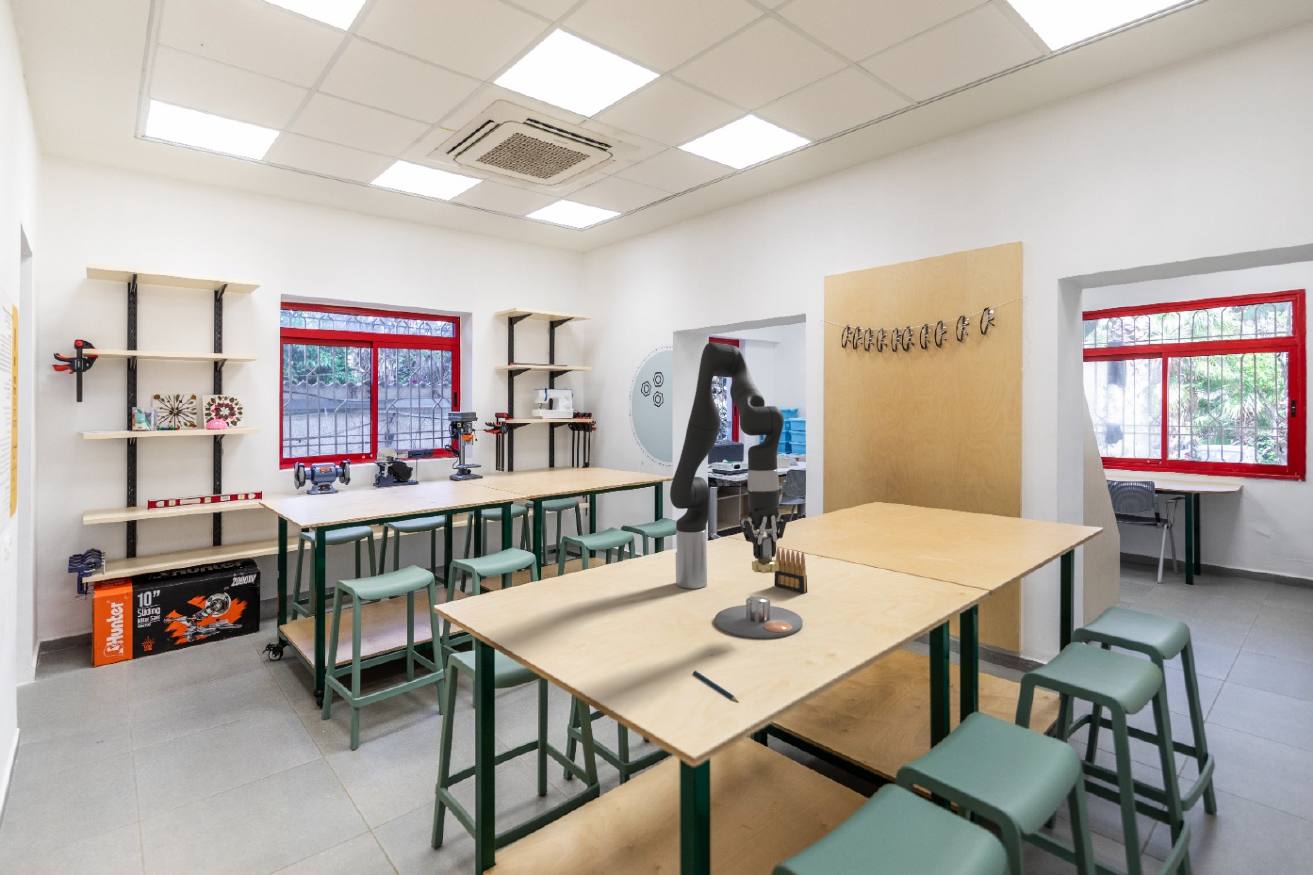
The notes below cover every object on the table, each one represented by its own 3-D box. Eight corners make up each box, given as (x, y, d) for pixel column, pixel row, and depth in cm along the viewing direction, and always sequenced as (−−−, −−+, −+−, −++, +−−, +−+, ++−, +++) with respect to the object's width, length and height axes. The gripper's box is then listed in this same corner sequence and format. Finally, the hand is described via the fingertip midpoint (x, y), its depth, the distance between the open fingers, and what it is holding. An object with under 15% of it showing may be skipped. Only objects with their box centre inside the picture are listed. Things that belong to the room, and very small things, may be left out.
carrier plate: (698, 618, 165) (698, 595, 165) (764, 603, 176) (764, 582, 176) (751, 645, 146) (751, 620, 146) (821, 627, 157) (821, 603, 157)
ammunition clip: (807, 592, 186) (807, 552, 185) (803, 593, 184) (803, 553, 184) (777, 585, 194) (777, 546, 193) (774, 586, 192) (773, 547, 192)
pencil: (696, 674, 132) (741, 703, 119) (692, 675, 132) (736, 705, 119) (696, 670, 132) (740, 699, 119) (692, 671, 132) (736, 700, 119)
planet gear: (746, 569, 157) (746, 537, 157) (767, 565, 160) (766, 534, 160) (763, 574, 151) (762, 541, 151) (783, 570, 155) (783, 538, 154)
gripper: (775, 484, 162) (777, 551, 162) (730, 489, 155) (732, 558, 155) (795, 486, 155) (797, 556, 156) (749, 492, 148) (751, 564, 149)
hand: (764, 557), depth 156 cm, fingers closed on planet gear, 3 cm apart
